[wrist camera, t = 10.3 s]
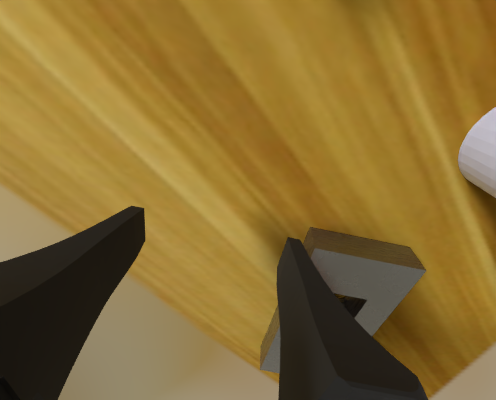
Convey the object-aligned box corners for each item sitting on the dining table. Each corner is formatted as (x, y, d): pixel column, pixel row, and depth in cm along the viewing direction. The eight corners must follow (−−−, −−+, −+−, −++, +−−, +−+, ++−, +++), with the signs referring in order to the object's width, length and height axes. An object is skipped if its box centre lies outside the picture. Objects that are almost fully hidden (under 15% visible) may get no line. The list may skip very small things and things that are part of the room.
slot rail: (409, 247, 24) (426, 270, 21) (328, 358, 35) (333, 382, 33) (310, 226, 24) (315, 248, 21) (260, 346, 35) (260, 369, 32)
